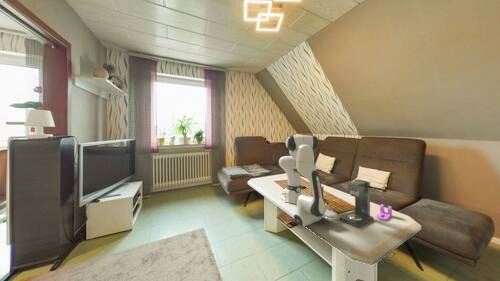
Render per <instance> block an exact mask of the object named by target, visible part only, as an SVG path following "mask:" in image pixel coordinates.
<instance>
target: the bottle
mask: <svg viewBox="0 0 500 281" xmlns="http://www.w3.org/2000/svg"><path fill="white" fill-rule="evenodd" d="M325 204H326V209H328V210H330V209H333V208H332V203H330V202H328V201H325Z"/></svg>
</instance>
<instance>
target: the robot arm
mask: <svg viewBox="0 0 500 281" xmlns="http://www.w3.org/2000/svg"><path fill="white" fill-rule="evenodd" d="M319 144H320V142H319V138H318V137H317V136H316V135H305V134H299V133H297V134H295V135H288V136H287V137H286V140H285V147H286V149H287V150H288V152H289V155H284V156H281V157H280V158H279V160H278V165H279V167H280V168H281V169H282V170H284V172H285V174H286V178H287V183H286V187H285V188H284V189H283V190H282V194H280V195H279V197H280V198H281V199H282V201H284V203H288V204H295V205H296V210H295V213H294V215H293V221H294V222H295V223H296V224H297V225H298V226H300V227H306V226H309V225H311V224H313V223H317V222H318V221H322V219H324V220H326V221H327V222H333V221H336V220H338V213H337V212H334V209H333V208H332V209H330V210H328V209H326V204H325V203H326V201H325V198H324V193H323V188H322V187H323V186H322V181H321V177H320V173H319V172H318V171H317V169H316V166H315V156H314V155H315V154H314V151H316V150H317V149H318V148H319ZM294 170H297V172H296V171H294ZM301 176H302V177H303V178H305V179H306V180H308V181H309V183H310V185H311V191H312V192H311V193H312V196H311V195H308V194H305V193H304V194H303V190H302V189H303V186H302V177H301Z"/></svg>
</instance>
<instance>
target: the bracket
mask: <svg viewBox="0 0 500 281" xmlns="http://www.w3.org/2000/svg"><path fill="white" fill-rule="evenodd" d="M392 215H393V207H392V206H391V205H388V206H387V212H386V211H385V204H382V203H381V204H380V206H379V213H378V214H377V215H376V219H377V220H379V221H382V222H387V221H388V220H389V219H391V218H392Z"/></svg>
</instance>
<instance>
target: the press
mask: <svg viewBox="0 0 500 281" xmlns="http://www.w3.org/2000/svg"><path fill="white" fill-rule="evenodd" d="M347 189H348V190H349V191H350V192H349V194H350V196H351V197H354V210H352V211H350V212H347V213H345V214H343V215H341V216H339V221H341V222H342V223H343V222H344V223H345V224H348V225H350V226H352V227H355V228H357V229H360V228H362V227H363V226H365V225H367V224H369V223H371V222H373V221H374V216H371V213H370V212H371V189H372V190H377V191H381V192H382V193H387V188H385V187H384V188H380V187H376V186H372V185H371V181H367V180H362V179H358V178H357V179H355V180H353V181H350V182H347Z"/></svg>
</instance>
